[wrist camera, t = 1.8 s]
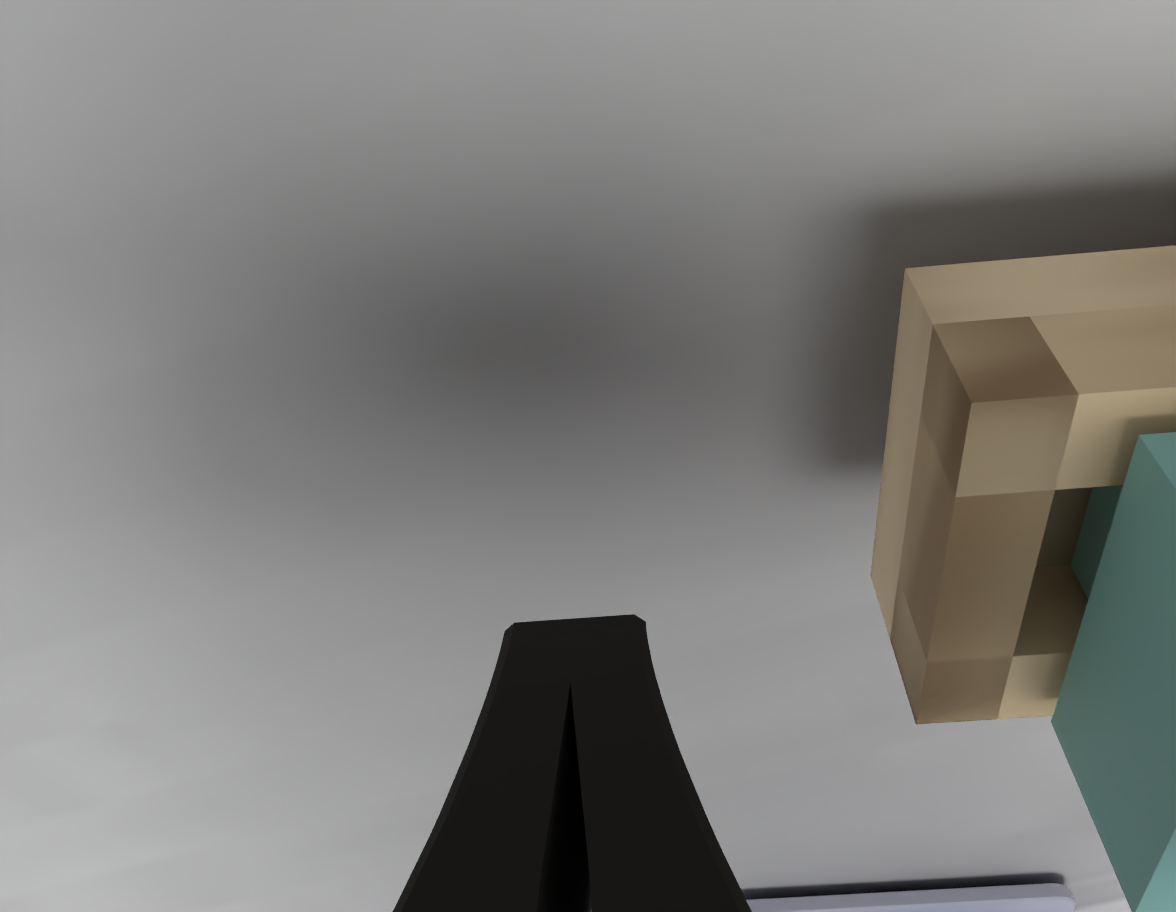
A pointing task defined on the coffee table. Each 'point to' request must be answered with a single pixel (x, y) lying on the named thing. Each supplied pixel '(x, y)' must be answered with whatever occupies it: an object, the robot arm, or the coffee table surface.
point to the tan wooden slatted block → (1010, 463)
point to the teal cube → (1128, 674)
